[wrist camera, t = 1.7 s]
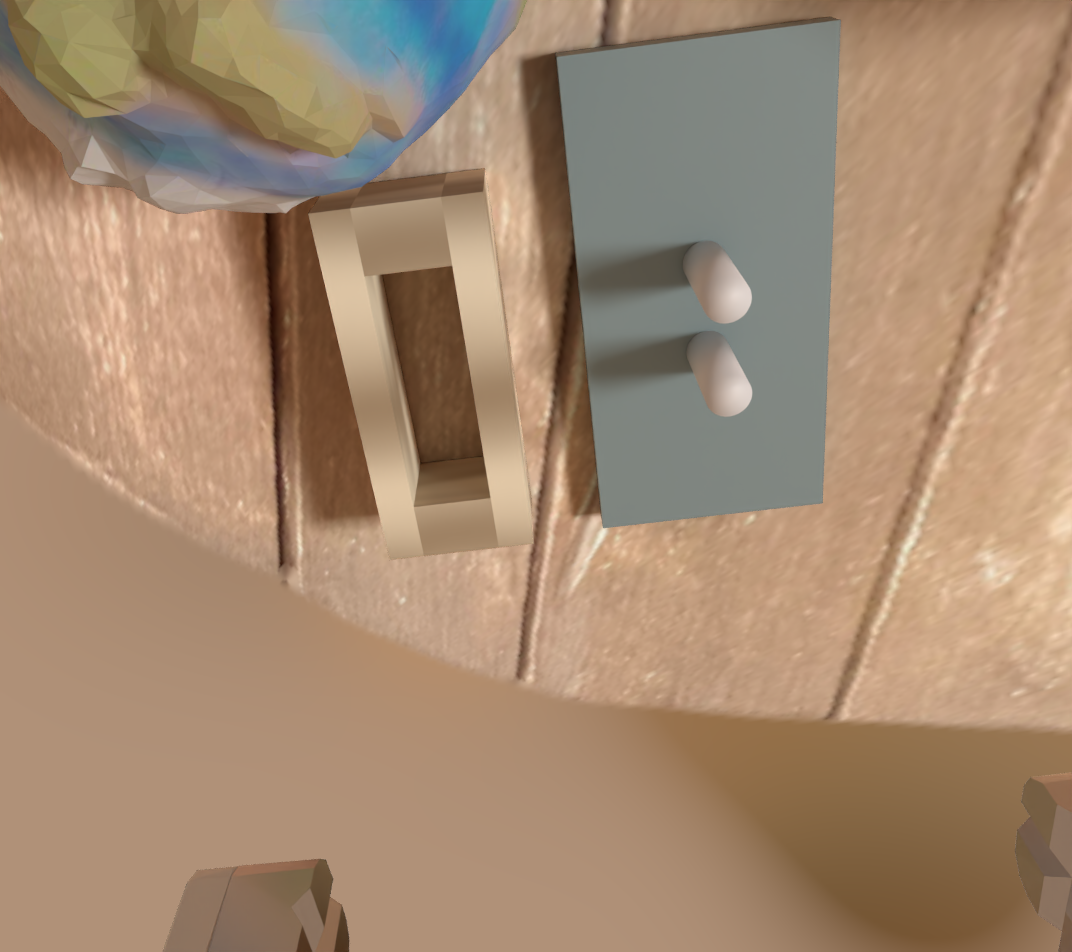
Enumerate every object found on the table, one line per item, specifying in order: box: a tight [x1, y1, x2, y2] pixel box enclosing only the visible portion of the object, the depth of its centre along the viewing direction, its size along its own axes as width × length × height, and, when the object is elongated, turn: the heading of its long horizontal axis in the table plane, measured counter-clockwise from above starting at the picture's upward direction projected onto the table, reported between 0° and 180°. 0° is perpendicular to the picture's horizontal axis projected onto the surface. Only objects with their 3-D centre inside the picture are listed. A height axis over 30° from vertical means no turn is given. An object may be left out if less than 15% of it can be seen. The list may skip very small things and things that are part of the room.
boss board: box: [555, 17, 841, 528], centre depth 30 cm, size 16×8×4 cm, turn 7°
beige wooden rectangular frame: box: [308, 168, 533, 560], centre depth 31 cm, size 12×5×3 cm, turn 7°
